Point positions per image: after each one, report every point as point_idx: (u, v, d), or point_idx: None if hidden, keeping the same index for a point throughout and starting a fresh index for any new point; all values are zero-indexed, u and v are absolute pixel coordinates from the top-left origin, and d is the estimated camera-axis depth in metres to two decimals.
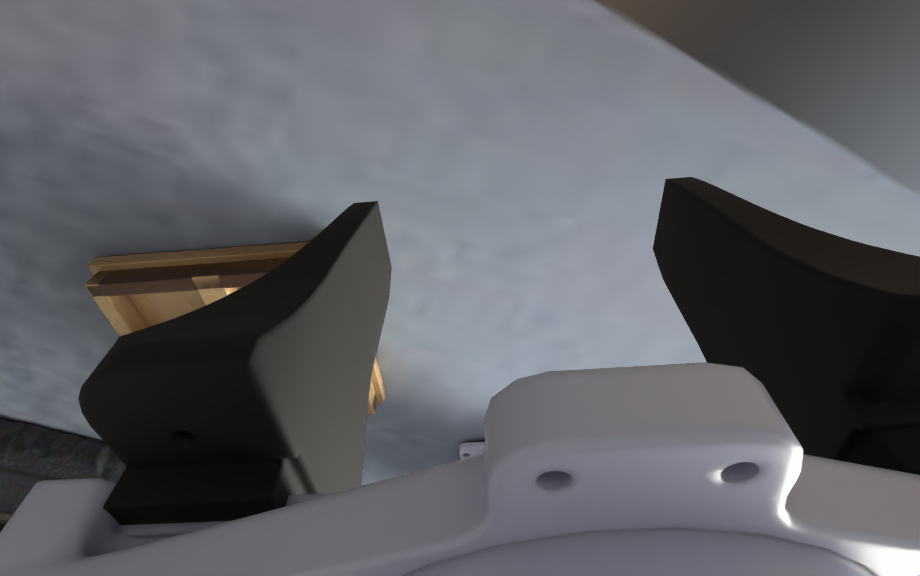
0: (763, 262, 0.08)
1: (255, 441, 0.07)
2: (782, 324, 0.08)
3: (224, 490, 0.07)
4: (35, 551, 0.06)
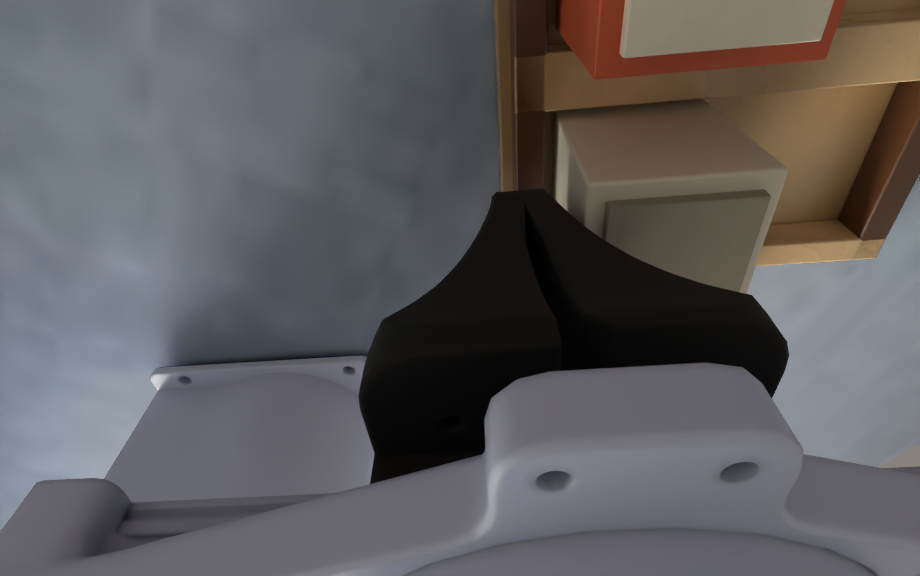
0: (552, 276, 0.09)
1: None
2: None
3: None
4: (36, 552, 0.06)
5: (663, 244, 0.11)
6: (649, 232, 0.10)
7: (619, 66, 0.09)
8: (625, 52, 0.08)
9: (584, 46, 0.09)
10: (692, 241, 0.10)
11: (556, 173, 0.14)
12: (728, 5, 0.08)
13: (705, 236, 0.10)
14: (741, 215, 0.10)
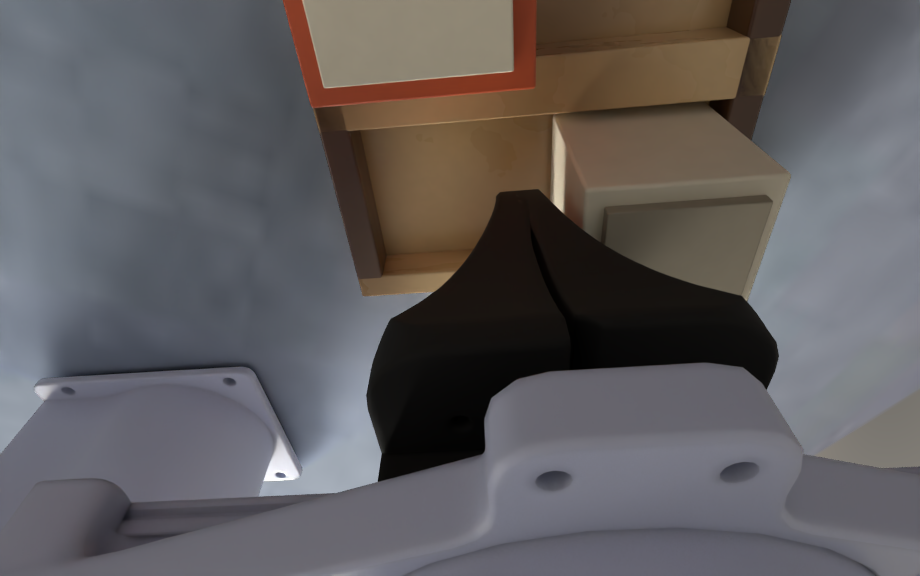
0: (545, 277, 0.09)
1: None
2: None
3: None
4: (35, 551, 0.06)
5: (663, 250, 0.10)
6: (649, 238, 0.10)
7: (331, 95, 0.09)
8: (323, 83, 0.08)
9: None
10: (693, 247, 0.10)
11: (555, 177, 0.14)
12: (409, 37, 0.08)
13: (706, 242, 0.10)
14: (743, 221, 0.10)
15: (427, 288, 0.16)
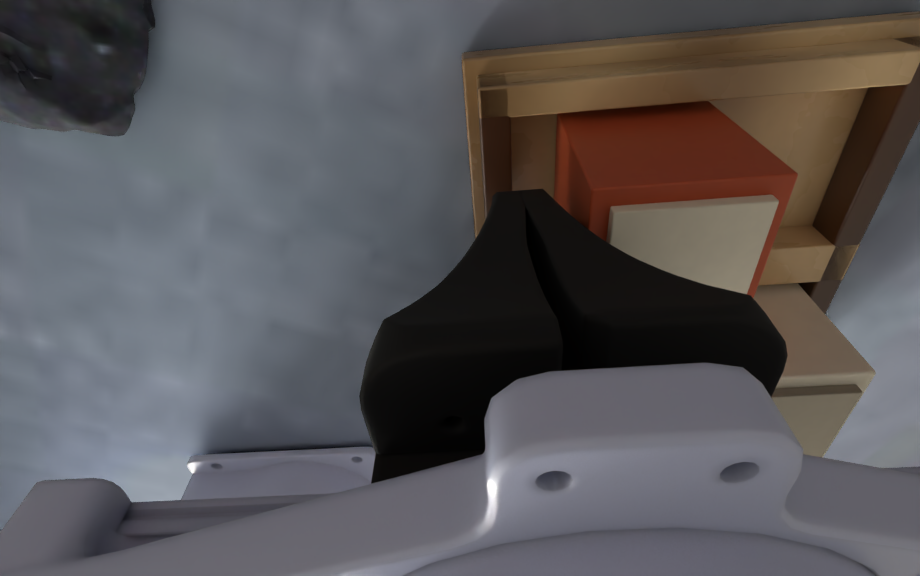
0: (551, 276, 0.08)
1: None
2: None
3: None
4: (34, 551, 0.06)
5: None
6: None
7: None
8: None
9: None
10: (798, 417, 0.14)
11: None
12: None
13: (809, 414, 0.14)
14: (838, 403, 0.13)
15: None
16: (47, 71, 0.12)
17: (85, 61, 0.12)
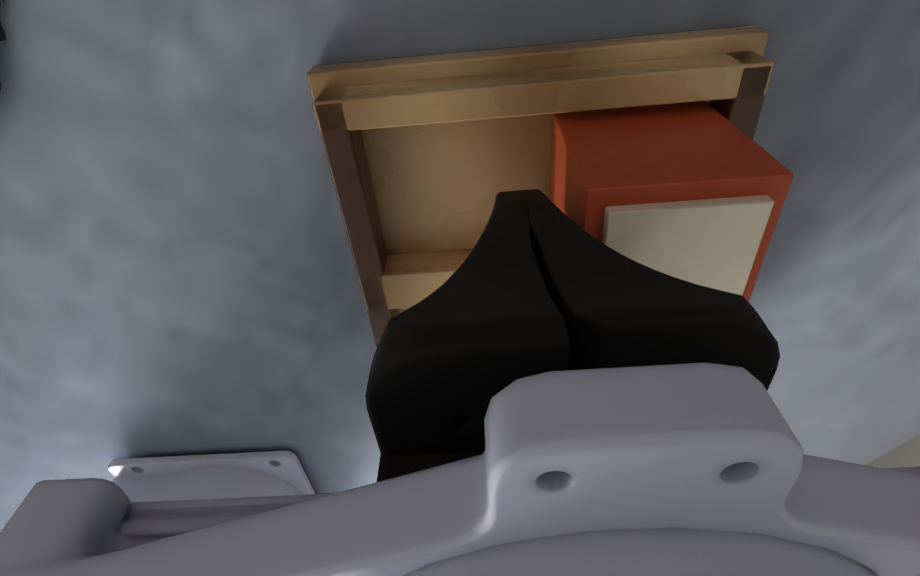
0: (546, 277, 0.09)
1: None
2: None
3: None
4: (35, 551, 0.06)
5: None
6: None
7: None
8: None
9: None
10: None
11: None
12: None
13: None
14: None
15: None
16: None
17: None
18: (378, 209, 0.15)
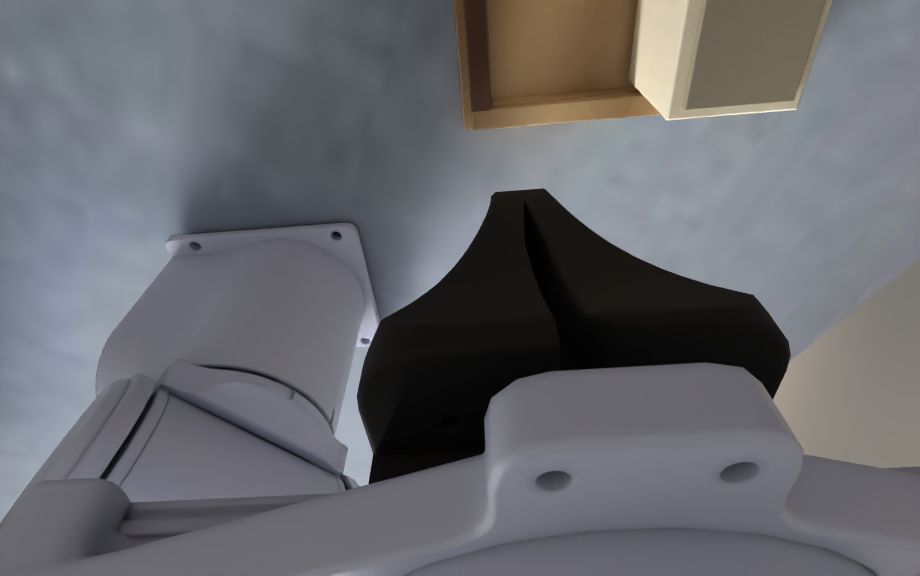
0: (553, 277, 0.09)
1: None
2: (561, 337, 0.08)
3: None
4: (36, 551, 0.06)
5: (746, 25, 0.14)
6: (737, 13, 0.13)
7: None
8: None
9: None
10: (769, 22, 0.14)
11: (643, 10, 0.17)
12: None
13: (780, 17, 0.13)
14: None
15: (527, 121, 0.19)
16: None
17: None
18: None
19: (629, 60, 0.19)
